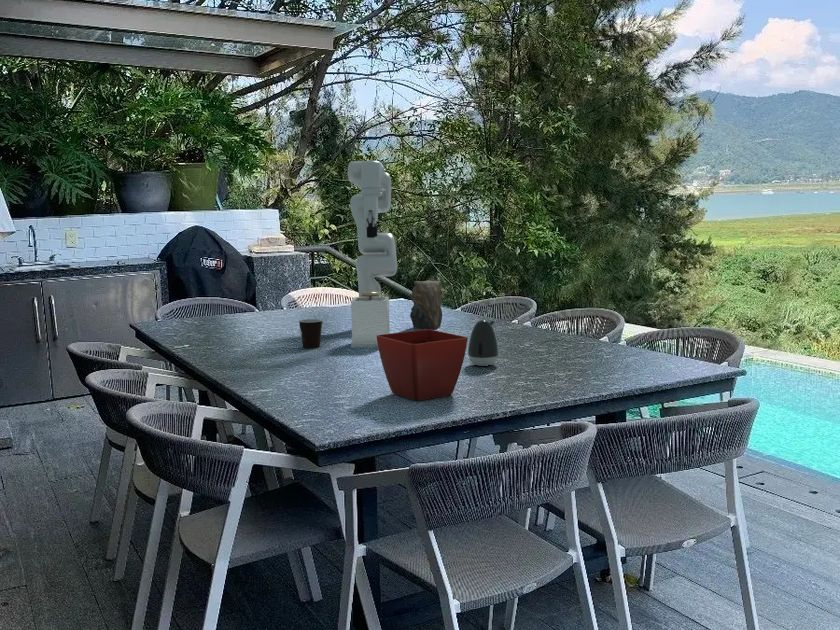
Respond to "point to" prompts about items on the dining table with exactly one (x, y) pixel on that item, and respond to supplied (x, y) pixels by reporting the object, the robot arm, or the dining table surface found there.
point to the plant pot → (422, 362)
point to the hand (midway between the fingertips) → (372, 237)
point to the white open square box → (369, 321)
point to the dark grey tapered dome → (483, 344)
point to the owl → (426, 304)
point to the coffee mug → (311, 333)
